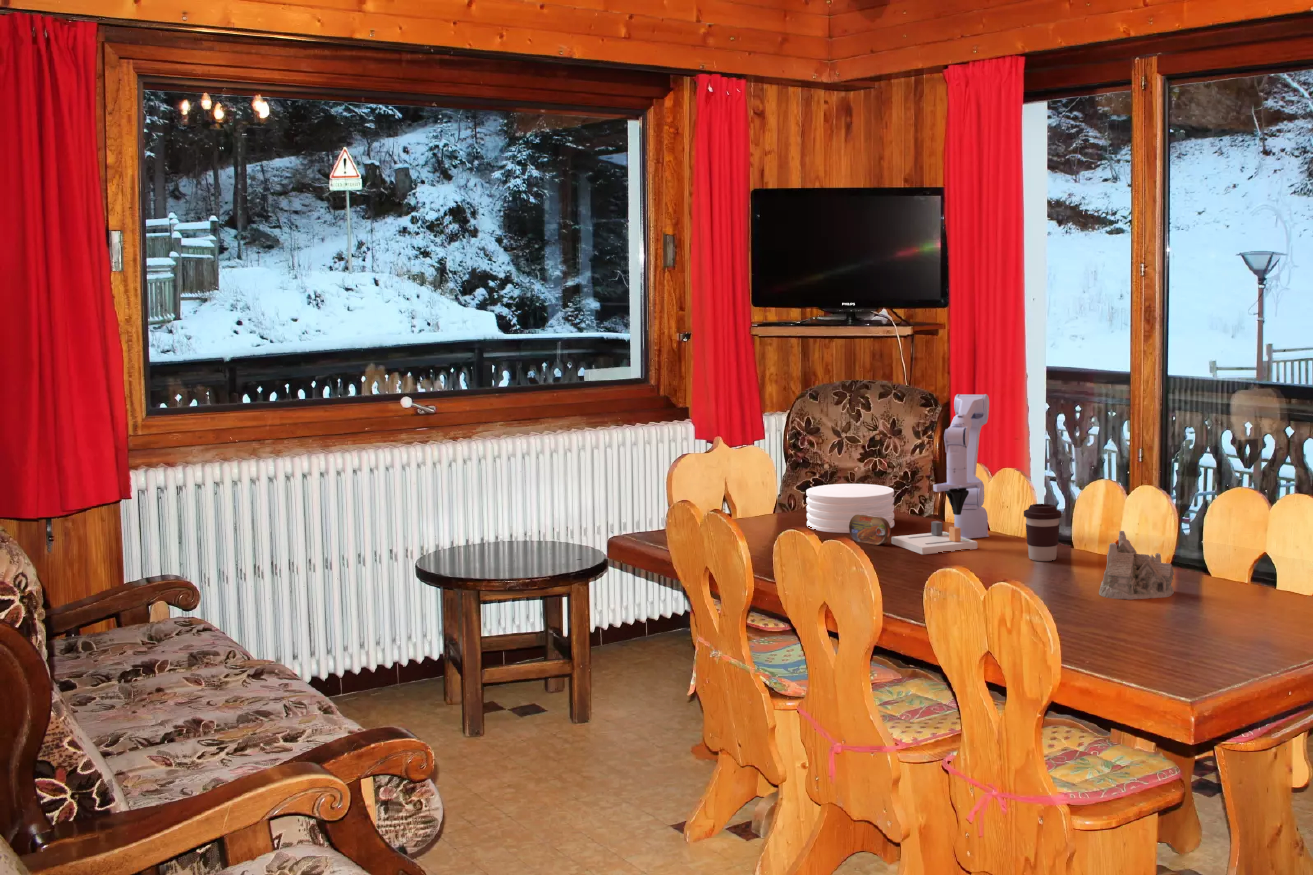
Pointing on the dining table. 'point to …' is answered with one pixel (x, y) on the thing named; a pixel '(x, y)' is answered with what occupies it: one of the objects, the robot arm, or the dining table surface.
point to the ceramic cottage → (1135, 573)
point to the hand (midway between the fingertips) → (957, 514)
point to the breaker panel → (932, 543)
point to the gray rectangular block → (936, 528)
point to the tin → (869, 529)
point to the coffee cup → (1042, 531)
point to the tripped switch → (955, 534)
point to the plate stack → (847, 505)
